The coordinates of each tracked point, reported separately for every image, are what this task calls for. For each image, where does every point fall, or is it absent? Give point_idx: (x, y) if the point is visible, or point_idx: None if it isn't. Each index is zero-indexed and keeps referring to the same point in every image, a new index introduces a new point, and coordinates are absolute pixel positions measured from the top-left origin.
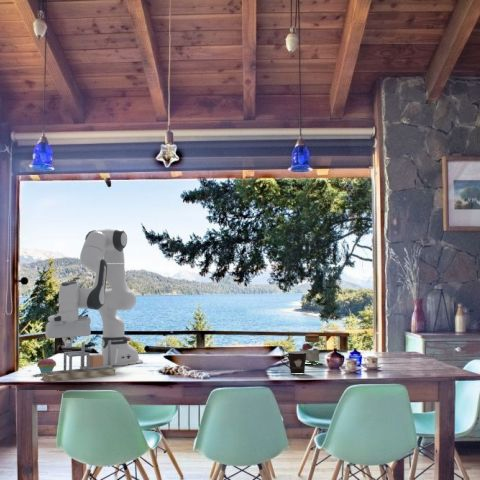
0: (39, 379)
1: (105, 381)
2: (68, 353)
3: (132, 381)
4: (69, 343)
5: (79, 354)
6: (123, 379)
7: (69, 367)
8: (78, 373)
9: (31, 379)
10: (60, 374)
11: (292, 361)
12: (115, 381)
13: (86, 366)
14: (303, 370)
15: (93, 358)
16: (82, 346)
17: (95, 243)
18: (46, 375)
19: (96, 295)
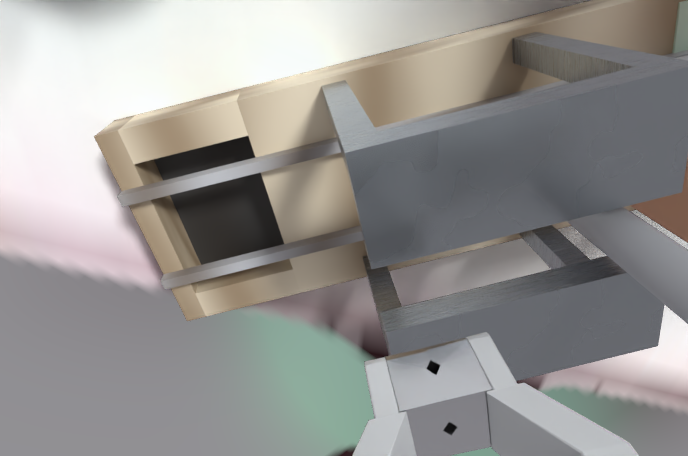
0: (98, 178)
1: (558, 375)
2: (408, 254)
3: (682, 404)
4: (464, 450)
5: (523, 372)
6: (677, 343)
7: (373, 297)
8: (440, 254)
9: (14, 155)
10: (286, 291)
11: None
12: (607, 386)
13: (542, 242)
14: None
15: (679, 231)
16: (681, 317)
17: None
18: (162, 265)
19: None
